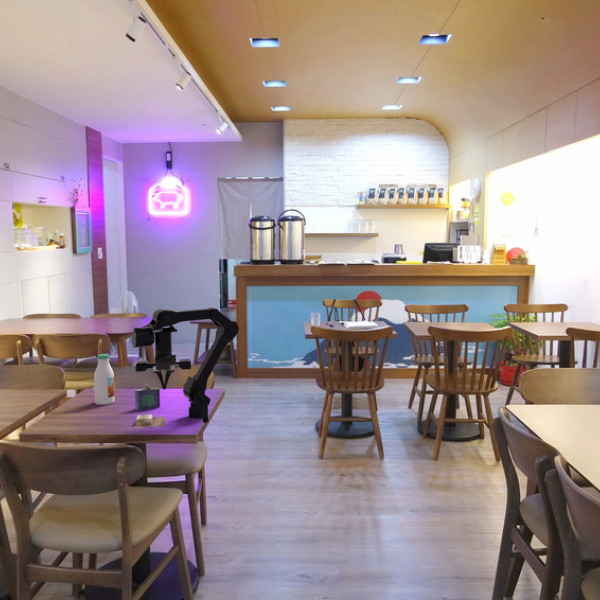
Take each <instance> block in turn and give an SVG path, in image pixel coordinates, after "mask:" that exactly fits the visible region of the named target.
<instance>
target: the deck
mask: <svg viewBox="0 0 600 600" xmlns="http://www.w3.org/2000/svg"><path fill="white" fill-rule="evenodd" d="M165 426H166V416H155V417H154V416H152V424H146V425H137V419H136V421H135V423H134V429H143V428H158V427H161V428H162V427H165Z"/></svg>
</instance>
